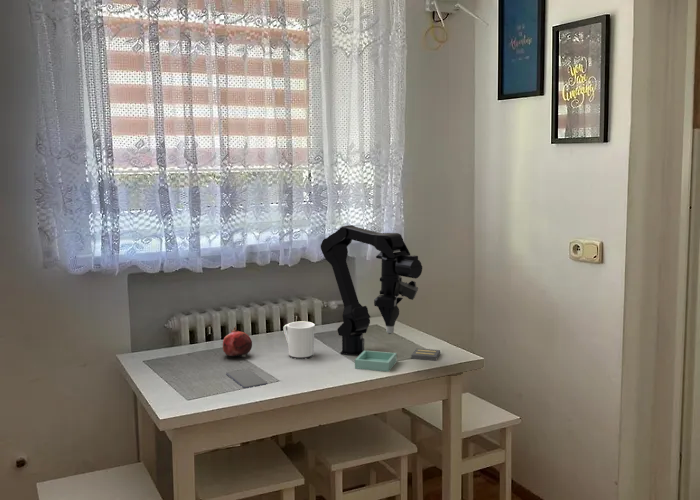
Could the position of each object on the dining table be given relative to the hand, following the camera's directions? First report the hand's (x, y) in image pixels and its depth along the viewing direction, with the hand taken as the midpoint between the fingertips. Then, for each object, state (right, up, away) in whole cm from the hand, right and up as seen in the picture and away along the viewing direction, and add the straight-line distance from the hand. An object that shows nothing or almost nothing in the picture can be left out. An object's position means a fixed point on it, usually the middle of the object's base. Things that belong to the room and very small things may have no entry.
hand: (389, 323), depth 230 cm
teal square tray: (-4, -13, -1) cm, 14 cm away
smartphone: (-43, -16, -14) cm, 48 cm away
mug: (-29, -12, +10) cm, 33 cm away
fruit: (-49, -12, +9) cm, 51 cm away
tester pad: (+12, -12, +9) cm, 19 cm away
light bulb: (0, -4, +1) cm, 4 cm away
